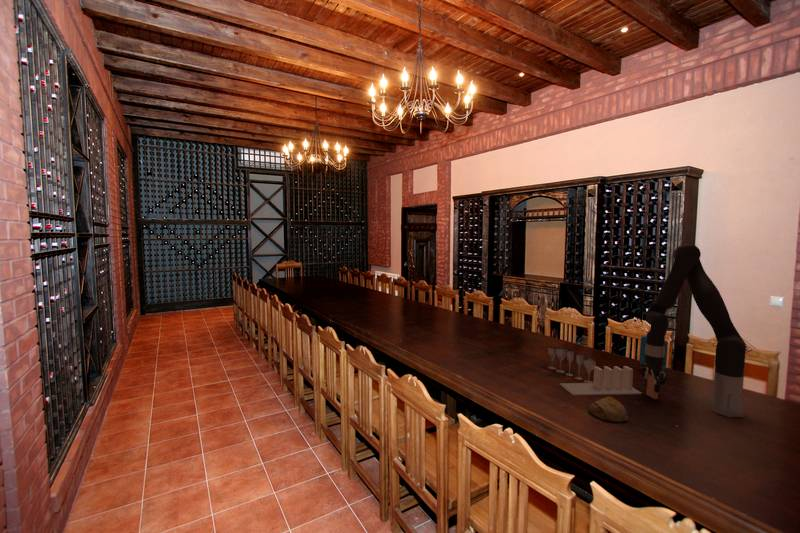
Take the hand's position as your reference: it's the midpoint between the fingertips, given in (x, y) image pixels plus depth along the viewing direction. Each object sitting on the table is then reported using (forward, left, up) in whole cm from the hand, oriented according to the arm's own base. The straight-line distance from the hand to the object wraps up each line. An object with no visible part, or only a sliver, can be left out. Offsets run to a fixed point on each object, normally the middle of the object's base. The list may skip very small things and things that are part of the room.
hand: (652, 389), depth 174 cm
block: (+27, -21, -4) cm, 35 cm away
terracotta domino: (0, 0, -3) cm, 3 cm away
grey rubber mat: (+10, +19, -4) cm, 22 cm away
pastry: (-16, +31, -4) cm, 35 cm away
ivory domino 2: (+10, +15, -3) cm, 18 cm away
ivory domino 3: (+10, +10, -3) cm, 15 cm away
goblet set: (+29, +24, -4) cm, 38 cm away
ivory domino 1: (+10, +20, -3) cm, 23 cm away
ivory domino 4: (+10, +5, -3) cm, 12 cm away
